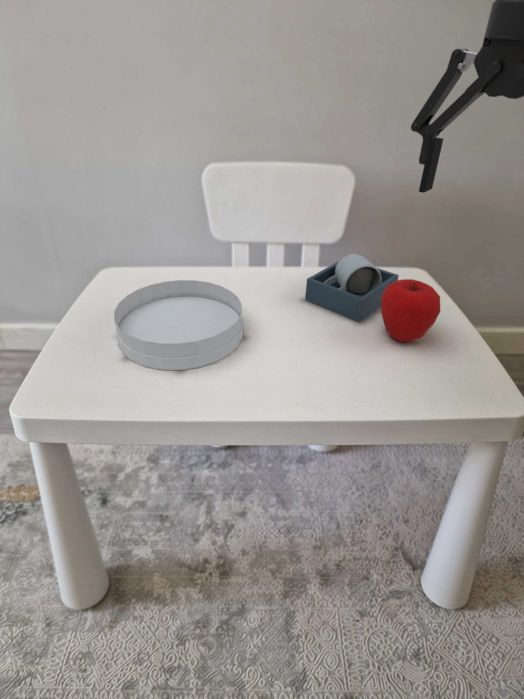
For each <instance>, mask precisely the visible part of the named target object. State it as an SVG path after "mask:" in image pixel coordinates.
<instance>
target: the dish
mask: <svg viewBox="0 0 524 699" xmlns="http://www.w3.org/2000/svg"><path fill="white" fill-rule="evenodd" d="M113 316H114V324H115V336H116V340H117V346H118V348H119V349H120V351H121V353H122V354H123V355H124V356H125V357H126V358H128V359H129V360H130V361H131V362H133V363H135V364H138V365H140V366H143V367H145V368H150V369H155V370H161V371H184V370H191V369H192V370H193V369H199V368H202V367H206V366H208V365H211V364H214V363H215V364H216V363H217V362H219V361H221V360H222V359H225V358H226V357H228V356H230V355H231V354H232V353H233V352H234V351H236V349H237V348H238V347H239V346H240V344H241V342H242V340H243V337H244V318H243V304H242V302H241V300H240V298H239V297H238V296H237V295H236V294H235V293H234V292H233V291H232V290H230V289H228V288H226V287H224V286H223V285H219V284H215V283H212V282H208V281H202V280H193V279H192V280H191V279H190V280H189V279H188V280H187V279H179V280H168V281H162V282H157V283H153V284H150V285H147V286H144V287H141V288H138V289H137V290H135V291H132V292H131V293H129V294H128V295H126V296H125V297H123V299H121V301H119V302H118V303H117V306H116V308H115V309H114V315H113Z"/></svg>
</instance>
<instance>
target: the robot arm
mask: <svg viewBox="0 0 524 699" xmlns="http://www.w3.org/2000/svg"><path fill="white" fill-rule="evenodd" d="M487 20H488V21H487V24H486V28H485V32H484V37H483V42H482V45H481V47H480V49H479V51H478V52H475V51H470V50H469V49H468V48H455V49H454V50H453V51H451V54H450V57H449V61H448V63H447V67H446V70H445V72H444V73H443V75H442V76H441V78H440V80H439V81H438V83H437V84H436V86H435V88H434V89H433V90H432V92H431V93H430V95H429V97H428V98H427V100H426V101H425V103H423V106H422V107H421V109H420V111H419V112H418V114H417V115H416V117H415V119H414V120H413V121H412V123H411V124H410V130H411V131H412V132H414V133H417V134H418V135H420V136H421V137H422V142H421V148H420V153H419V156H418V164H419V165H423V168H422V173H421V179H420V183H419V187H418V188H419V189H418V192H419V193H423V194H424V193H426V192H428V191H430V190H432V189H433V186H434V183H435V178H436V173H437V169H438V165H439V161H440V160H439V159H440V155H441V153H442V147H443V143H444V138H443V137H442V138H441V137H438V136H440V134H441V133H442V132H443V131H444V130H445V129H446V128H447V127H448V126H450V125H451V124H452V123H453V122H454V121H456V120H457V118H458V117H459V116H460V115H462V113H464V112H465V111H466V110H467V109H468V108H469V107H470V106H472V104H474V102H476V101H477V100H478V99H479V98H481V97H482V96H483V95H484V94H486V95H487V97H489V98H496V97H497V98H498V97H505V98H507V99H510V100H511V99H513V100H517V99H521V98H524V0H495V1H493V2H492V4H491V8H490V12H489V17H488V19H487ZM472 65H473V66H474V69H475V73H476V75H477V78H475V80H474V81H473V82H471V84H469V86H468V87H467V88H466V89H465V90H464V92H463V93H462V94H461V95H459V97H458V98H457V99H455V100H454V101H453V102H452V103H451V104H450V105H449V106H448V107H447V108H446V109H444V111H443V112H442V113H441V114H440V115H438V117H437V118H436V119H434V117H435V115H436V114H437V113H438V111H439V110H440V108H441V107H442V105H443V104H444V102H445V101H446V99H447V98H448V97H449V95H450V94H451V92H452V90H453V89H454V87H455V86H456V85H457V84H458V82H459V81H460V78H461V77H462V76H463V73H465V72H467V71H468V70H469V69H470V68H471V66H472ZM433 119H434V120H433ZM432 120H433V122H432V123H431V121H432Z"/></svg>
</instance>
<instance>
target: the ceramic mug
mask: <svg viewBox="0 0 524 699" xmlns="http://www.w3.org/2000/svg"><path fill="white" fill-rule="evenodd" d="M338 261H339V262H338ZM338 261H337V262H338V263H337V265H336V268H335V275H334V276H332V277H330V278H328V279H327V280H326V281H324V283H325V284H328V285H331V284H333V283H335V282H338V284H339V285H340V286H341V288H338V289H341V290H344V291H346V292H349V293H352V294H354V295H357V296H360V297H363V296H364V295H365V294H367V293H368V292H370V291H371V290H373V289H374V288H376V287H377V286H379V285H380V284H381V281H382V277H381V273H380V271H379V270H378V269H377V268H378V267H377V266H375V265H374V264H373V263H372V262H370V261H369V260H368V258H366V257H365V256H363V255H360V254H357V253H350V254H346V255H345V256H343V257H341V258H340V259H339V260H338Z"/></svg>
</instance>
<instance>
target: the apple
mask: <svg viewBox="0 0 524 699" xmlns="http://www.w3.org/2000/svg"><path fill="white" fill-rule="evenodd" d="M380 308H381V311H380V312H381V317H382V321H383V325H384V329H385V330H386V332H387V333H388V334H389V335H390V336H391V337H392V338H393V339H394V340H396V341H398V342H402V343H407V342H412V341H415V340H419V339H422V337H424V336H425V334H426V333H427V332H428V331H429V330H430V329H431V328H432V327H433V325H434V324H435V323H436V320H437V319H438V317H439V315H440V313H441V296H440V294H439V293H438V292H437V290H435V288H434V287H433V286H431V285H429V284H428V283H426V282H423V281H420V280H417V279H411V278H410V279H409V278H408V279H407V278H405V279H398V281H396V282H394V283H392V284H390V285H388V286H387V287H386V289H385V291H384V293H383V295H382V299H381V306H380Z"/></svg>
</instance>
